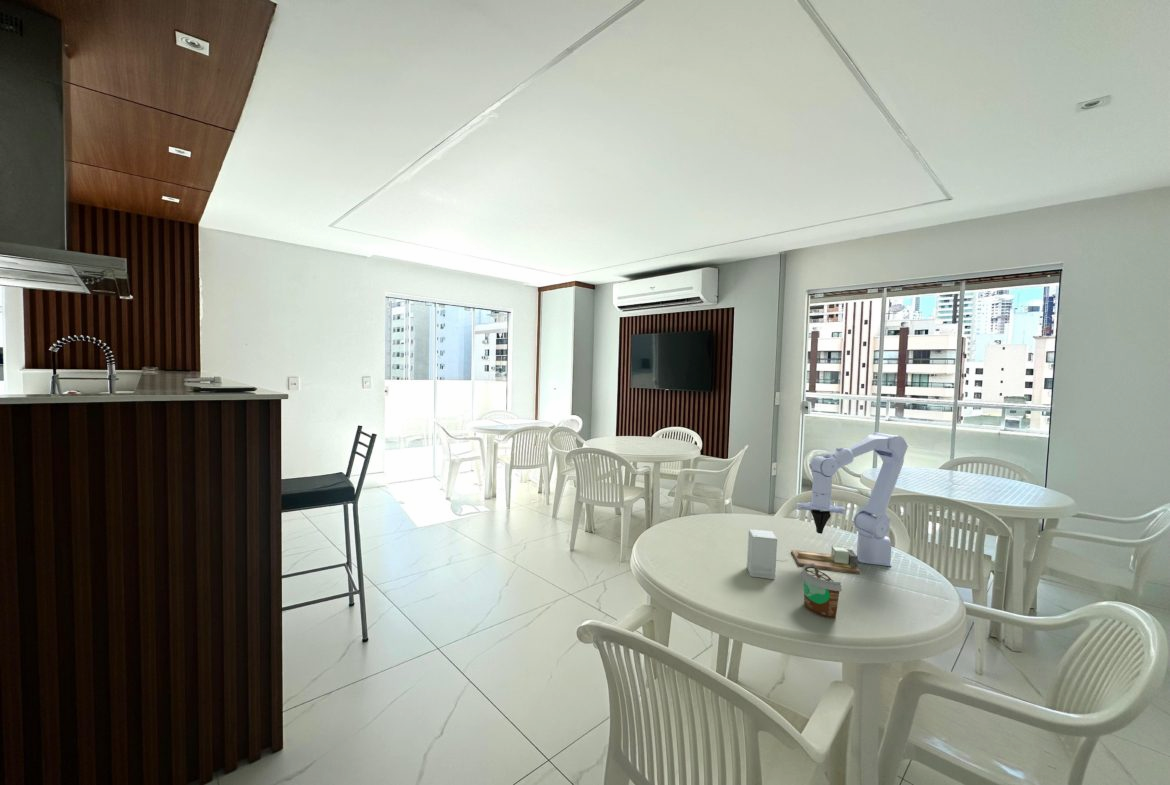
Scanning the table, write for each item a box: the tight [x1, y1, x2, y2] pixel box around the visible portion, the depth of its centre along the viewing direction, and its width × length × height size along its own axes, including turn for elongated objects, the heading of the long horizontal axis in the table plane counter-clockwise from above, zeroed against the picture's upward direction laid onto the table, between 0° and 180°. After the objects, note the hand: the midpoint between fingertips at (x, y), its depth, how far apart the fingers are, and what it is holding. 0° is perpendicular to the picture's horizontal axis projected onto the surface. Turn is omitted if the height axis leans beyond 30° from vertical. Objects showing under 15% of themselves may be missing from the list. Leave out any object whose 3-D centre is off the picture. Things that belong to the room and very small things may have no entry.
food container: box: [800, 563, 842, 619], centre depth 119 cm, size 12×6×10 cm, turn 5°
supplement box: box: [746, 528, 778, 580], centre depth 140 cm, size 7×7×13 cm
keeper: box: [830, 545, 849, 564], centre depth 149 cm, size 4×4×4 cm
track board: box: [791, 548, 861, 575], centre depth 151 cm, size 18×12×4 cm, turn 75°
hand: (819, 532), depth 151 cm, fingers closed
